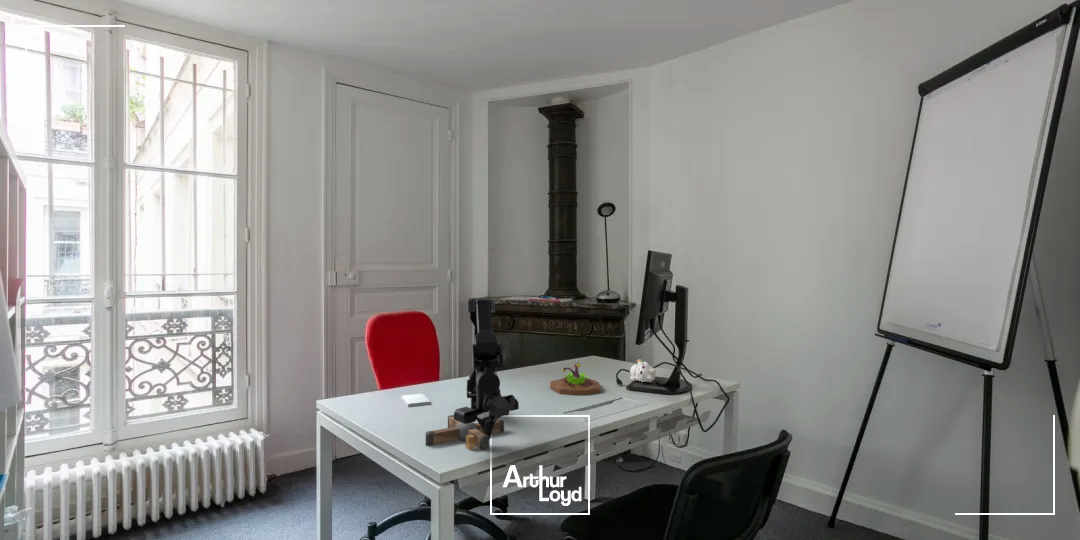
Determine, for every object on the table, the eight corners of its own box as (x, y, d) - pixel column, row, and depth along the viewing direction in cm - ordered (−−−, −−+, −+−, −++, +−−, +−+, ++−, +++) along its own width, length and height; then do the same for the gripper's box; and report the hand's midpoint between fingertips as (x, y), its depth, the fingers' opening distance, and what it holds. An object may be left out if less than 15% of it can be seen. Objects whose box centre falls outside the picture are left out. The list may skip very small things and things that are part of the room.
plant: (557, 397, 208) (557, 367, 207) (545, 385, 227) (546, 357, 226) (608, 394, 212) (608, 365, 212) (592, 382, 231) (592, 356, 231)
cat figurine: (630, 356, 238) (651, 358, 224) (644, 364, 240) (665, 367, 227) (621, 376, 235) (642, 380, 221) (635, 385, 238) (657, 388, 224)
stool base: (411, 432, 166) (411, 420, 166) (486, 419, 179) (486, 408, 179) (438, 455, 148) (437, 442, 148) (518, 439, 160) (518, 427, 160)
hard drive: (431, 401, 197) (423, 393, 208) (407, 403, 193) (401, 395, 205) (431, 406, 197) (423, 397, 208) (407, 408, 193) (401, 399, 205)
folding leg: (467, 440, 159) (467, 430, 158) (475, 438, 160) (475, 428, 160) (482, 449, 151) (482, 439, 151) (490, 448, 153) (490, 437, 153)
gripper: (475, 397, 143) (477, 456, 144) (530, 383, 155) (531, 438, 156) (451, 389, 151) (453, 445, 152) (506, 376, 163) (507, 428, 164)
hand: (487, 439), depth 156 cm, fingers closed
